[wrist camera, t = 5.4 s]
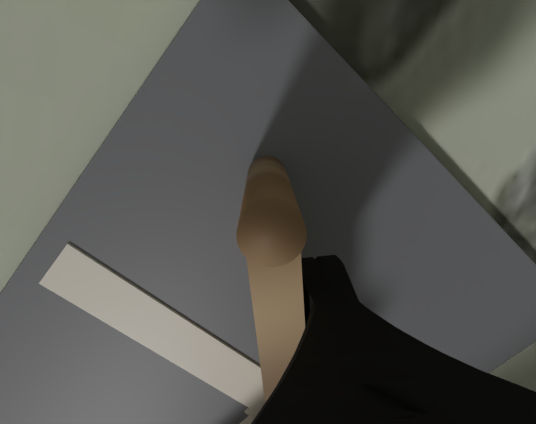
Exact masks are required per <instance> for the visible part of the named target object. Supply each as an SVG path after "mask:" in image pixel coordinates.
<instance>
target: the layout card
mask: <svg viewBox="0 0 536 424" xmlns="http://www.w3.org/2000/svg"><path fill="white" fill-rule="evenodd" d="M262 156H272V157H275V158H277V159H279V160H280V161H281V162H282V163H283V165H284V166H285V169H286V172H287V174H288V177H289V180H290V183H291V186H292V189H293V192H294V194H295V197H296V200H297V203H298V206H299V209H300V212H301V214H302V217H303V220H304V223H305V226H306V231H307V239H306V243H305V246H304V248H303V250H302V252H301V258H307V257H313V258H314V259H315V258H316V257H317V256H327V255H336V256H337V257H338V258H339V259H340V260H341V261H342V262H343V264H344V266H345V268H346V271H347V273H348V275H349V278H350V280H351V283H352V285H353V288H354V290H355V293H356V295H357V297H358V300H359V302H361V303H362V304H363V305H364V306H366V307H367V308H368V309H370V310H371V311H372V312H374V313H375V314H377V315H378V316H380V317H381V318H383V319H384V320H386V321H387V322H389V323H390V324H392V325H393V326H395V327H397V328H398V329H400V330H402V331H403V332H405V333H407V334H409V335H410V336H412V337H414V338H416V339H418V340H419V341H421V342H423V343H425V344H427V345H429V346H430V347H432V348H434V349H436V350H438V351H440V352H442V353H444V354H446V355H448V356H451V357H453V358H455V359H457V360H459V361H462V362H464V363H466V364H468V365H470V366H472V367H475V368H477V369H479V370H481V371H484V372H486V373H490V372H491V371H493V370H494V369H496V368H497V367H498V366H500V365H501V364H503V363H504V362H506V361H507V360H509V359H510V358H512V357H513V356H515V355H516V354H518V353H519V352H520V351H522V350H523V349H525V348H526V347H528V346H529V345H531V344H532V343H534V342H535V341H536V264H535V263H534V262H533V261H532V260H531V259H530V258H529V257H528V256H527V255H526V253H525V252H524V251H523V250H522V249H521V248H520V247H519V246H518V245H517V244H516V243H515V242H514V241H513V240H512V238H511V237H510V236H509V235H508V234H507V233H506V232H505V231H504V230H503V229H502V228H501V227H500V226H499V225H498V224H497V222H496V221H495V220H494V219H493V218H492V217H491V216H490V215H489V214H488V213H487V212H486V211H485V210H484V209H483V208H482V206H481V205H480V204H479V203H478V202H477V201H476V200H475V199H474V198H473V197H472V196H471V195H470V194H469V193H468V191H467V190H466V189H465V188H464V187H463V186H462V185H461V184H460V183H459V182H458V181H457V180H456V179H455V178H454V177H453V175H452V174H451V173H450V172H449V171H448V170H447V169H446V168H445V167H444V166H443V165H442V164H441V163H440V162H439V161H438V159H437V158H436V157H435V156H434V155H433V154H432V153H431V152H430V151H429V150H428V149H427V148H426V147H425V146H424V145H423V143H422V142H421V141H420V140H419V139H418V138H417V137H416V136H415V135H414V134H413V133H412V132H411V131H410V130H409V128H408V127H407V126H406V125H405V124H404V123H403V122H402V121H401V120H400V119H399V118H398V117H397V116H396V115H395V114H394V112H393V111H392V110H391V109H390V108H389V107H388V106H387V105H386V104H385V103H384V102H383V101H382V100H381V99H380V98H379V96H378V95H377V94H376V93H375V92H374V91H373V90H372V89H371V88H370V87H369V86H368V85H367V84H366V83H365V82H364V80H363V79H362V78H361V77H360V76H359V75H358V74H357V73H356V72H355V71H354V70H353V69H352V68H351V67H350V65H349V64H348V63H347V62H346V61H345V60H344V59H343V58H342V57H341V56H340V55H339V54H338V53H337V52H336V51H335V49H334V48H333V47H332V46H331V45H330V44H329V43H328V42H327V41H326V40H325V39H324V38H323V37H322V36H321V35H320V33H319V32H318V31H317V30H316V29H315V28H314V27H313V26H312V25H311V24H310V23H309V22H308V21H307V20H306V18H305V17H304V16H303V15H302V14H301V13H300V12H299V11H298V10H297V9H296V8H295V7H294V6H293V5H292V4H291V2H290V1H289V0H200V1H199V3H198V4H197V6H196V7H195V9H194V10H193V12H192V13H191V15H190V16H189V18H188V19H187V21H186V22H185V23H184V25H183V26H182V28H181V29H180V31H179V32H178V34H177V35H176V37H175V38H174V40H173V41H172V43H171V44H170V45H169V47H168V48H167V50H166V51H165V53H164V54H163V56H162V57H161V59H160V60H159V62H158V63H157V65H156V66H155V67H154V69H153V70H152V72H151V73H150V75H149V76H148V78H147V79H146V81H145V82H144V84H143V85H142V87H141V88H140V89H139V91H138V92H137V94H136V95H135V97H134V98H133V100H132V101H131V103H130V104H129V106H128V107H127V109H126V110H125V112H124V113H123V114H122V116H121V117H120V119H119V120H118V122H117V123H116V125H115V126H114V128H113V129H112V131H111V132H110V134H109V135H108V136H107V138H106V139H105V141H104V142H103V144H102V145H101V147H100V148H99V150H98V151H97V153H96V154H95V156H94V157H93V158H92V160H91V161H90V163H89V164H88V166H87V167H86V169H85V170H84V172H83V173H82V175H81V176H80V178H79V179H78V180H77V182H76V183H75V185H74V186H73V188H72V189H71V191H70V192H69V194H68V195H67V197H66V198H65V200H64V201H63V203H62V204H61V205H60V207H59V208H58V210H57V211H56V213H55V214H54V216H53V217H52V219H51V220H50V222H49V223H48V225H47V226H46V227H45V229H44V230H43V232H42V233H41V235H40V236H39V238H38V239H37V241H36V242H35V244H34V245H33V247H32V248H31V249H30V251H29V252H28V254H27V255H26V257H25V258H24V260H23V261H22V263H21V264H20V266H19V267H18V269H17V270H16V271H15V273H14V274H13V276H12V277H11V279H10V280H9V282H8V283H7V285H6V286H5V288H4V289H3V291H2V292H1V294H0V424H251V423H252V421H253V420H254V418H255V417H256V416H257V414H258V413H259V411H260V410H261V408H262V407H263V405H264V404H265V398H264V390H263V382H262V375H261V367H260V359H259V352H258V344H257V336H256V329H255V321H254V313H253V306H252V298H251V290H250V283H249V275H248V267H247V260H246V257H245V256H244V255H243V253H242V252H241V251H240V249H239V246H238V244H237V238H236V233H237V227H238V221H239V216H240V211H241V206H242V200H243V195H244V190H245V185H246V179H247V174H248V169H249V167H250V165H251V164H252V162H253V161H254V160H256V159H257V158H259V157H262Z"/></svg>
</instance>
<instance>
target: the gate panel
mask: <svg viewBox="0 0 536 424" xmlns="http://www.w3.org/2000/svg"><path fill="white" fill-rule="evenodd" d="M236 238H237V244H238V246H239V249H240V251H241V252H242V253H243V255H244V256H245V257H246V260H247V267H248V275H249V283H250V290H251V298H252V306H253V313H254V321H255V329H256V336H257V344H258V352H259V359H260V367H261V375H262V382H263V390H264V398H265V402H266V401H267V399H268V398H269V397H270V395H271V394H272V392H273V391H274V389H275V387H276V386H277V384H278V382H279V381H280V379H281V377H282V375H283V373H284V372H285V370H286V368H287V366H288V364H289V363H290V361H291V359H292V357H293V355H294V353H295V351H296V349H297V346H298V344H299V342H300V339H301V337H302V335H303V332H304V329H305V314H304V297H303V280H302V262H301V252H302V250H303V248H304V246H305V243H306V239H307V231H306V226H305V223H304V220H303V217H302V214H301V212H300V209H299V206H298V203H297V200H296V197H295V194H294V192H293V189H292V186H291V183H290V180H289V177H288V174H287V172H286V169H285V166H284V165H283V163H282V162H281V161H280V160H279V159H277V158H275V157H272V156H262V157H259V158H257V159H256V160H254V161H253V162H252V164H251V165H250V167H249V169H248V174H247V179H246V185H245V190H244V195H243V200H242V206H241V211H240V216H239V221H238V227H237V233H236Z"/></svg>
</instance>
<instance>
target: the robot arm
mask: <svg viewBox="0 0 536 424" xmlns="http://www.w3.org/2000/svg"><path fill="white" fill-rule="evenodd" d="M301 262H302V280H303V297H304V314H305V329H304V332H303V335H302V337H301V339H300V342H299V344H298V346H297V349H296V351H295V353H294V355H293V357H292V359H291V361H290V363H289V364H288V366H287V368H286V370H285V372H284V373H283V375H282V377H281V379H280V381H279V382H278V384H277V386H276V387H275V389H274V391H273V392H272V394H271V395H270V397H269V398H268V399H267V401H266V402H265V404H264V405H263V407H262V408H261V410H260V411H259V413H258V414H257V416H256V417H255V418H254V420H253V421H252V423H251V424H536V392H534V391H532V390H529V389H527V388H524V387H522V386H519V385H517V384H514V383H512V382H509V381H506V380H504V379H501V378H499V377H496V376H494V375H491V374H489V373H486V372H484V371H481V370H479V369H477V368H475V367H472V366H470V365H468V364H466V363H464V362H462V361H459V360H457V359H455V358H453V357H451V356H448V355H446V354H444V353H442V352H440V351H438V350H436V349H434V348H432V347H430V346H429V345H427V344H425V343H423V342H421V341H419V340H418V339H416V338H414V337H412V336H410V335H409V334H407V333H405V332H403V331H402V330H400V329H398V328H397V327H395V326H393V325H392V324H390V323H389V322H387V321H386V320H384V319H383V318H381V317H380V316H378V315H377V314H375V313H374V312H372V311H371V310H370V309H368V308H367V307H366V306H364V305H363V304H362V303H361V302H359V300H358V297H357V295H356V293H355V290H354V288H353V285H352V283H351V280H350V278H349V275H348V273H347V271H346V268H345V266H344V264H343V262H342V261H341V260H340V259H339V258H338V257H337V256H336V255H327V256H317V257H316V258H315V259H314V258H313V257H307V258H301Z"/></svg>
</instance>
